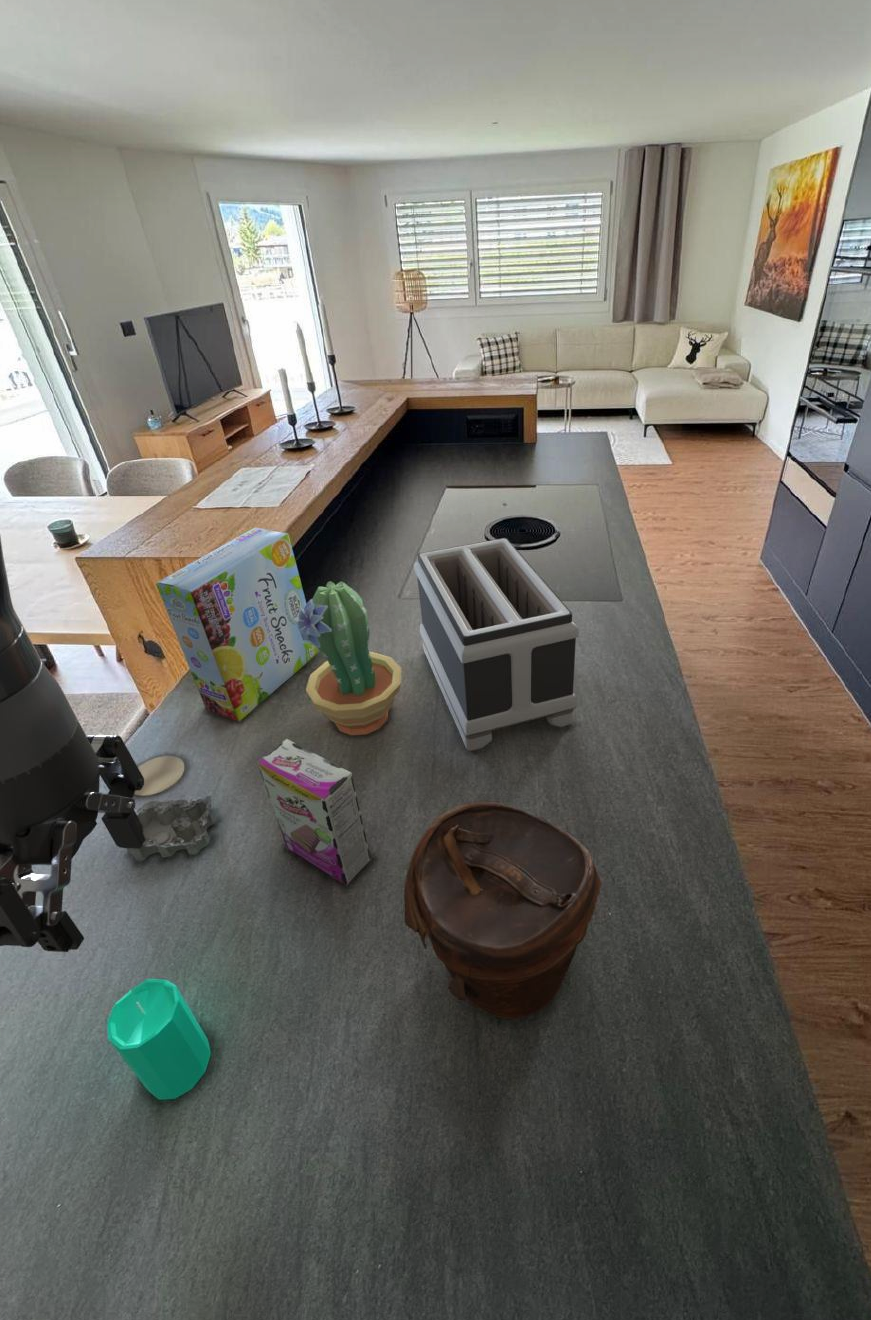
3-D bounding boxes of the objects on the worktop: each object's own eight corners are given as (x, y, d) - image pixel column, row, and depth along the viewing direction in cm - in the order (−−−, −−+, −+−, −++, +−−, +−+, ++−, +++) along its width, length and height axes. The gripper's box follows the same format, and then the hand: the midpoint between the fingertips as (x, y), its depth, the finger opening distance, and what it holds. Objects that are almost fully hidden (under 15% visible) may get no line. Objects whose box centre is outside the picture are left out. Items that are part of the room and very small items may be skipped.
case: (423, 883, 77) (408, 782, 67) (585, 884, 76) (593, 782, 66) (402, 1044, 62) (379, 944, 52) (604, 1047, 61) (618, 946, 51)
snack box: (286, 644, 122) (255, 524, 109) (321, 654, 119) (293, 532, 105) (201, 710, 106) (151, 580, 92) (238, 724, 103) (193, 590, 89)
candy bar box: (284, 850, 81) (254, 761, 73) (311, 823, 85) (286, 735, 76) (346, 890, 76) (322, 799, 67) (373, 859, 80) (353, 769, 71)
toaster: (504, 620, 127) (501, 525, 115) (576, 726, 99) (582, 616, 88) (417, 638, 122) (405, 542, 111) (467, 755, 95) (458, 643, 83)
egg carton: (123, 863, 81) (111, 843, 78) (146, 817, 87) (135, 797, 85) (205, 856, 81) (196, 836, 79) (222, 811, 87) (214, 791, 85)
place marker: (116, 796, 91) (116, 795, 90) (143, 756, 97) (143, 755, 97) (169, 796, 90) (169, 795, 90) (193, 756, 97) (192, 755, 97)
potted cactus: (311, 699, 108) (280, 573, 94) (398, 679, 111) (380, 555, 98) (319, 759, 95) (284, 624, 82) (416, 735, 99) (399, 601, 85)
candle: (221, 1061, 61) (185, 999, 54) (161, 1116, 57) (114, 1056, 51) (194, 1017, 64) (156, 954, 58) (135, 1066, 61) (88, 1005, 54)
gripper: (29, 670, 46) (109, 816, 54) (-149, 828, 34) (-9, 983, 42) (125, 671, 45) (191, 818, 54) (-20, 832, 33) (95, 988, 42)
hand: (103, 891), depth 48 cm, fingers open, 8 cm apart
